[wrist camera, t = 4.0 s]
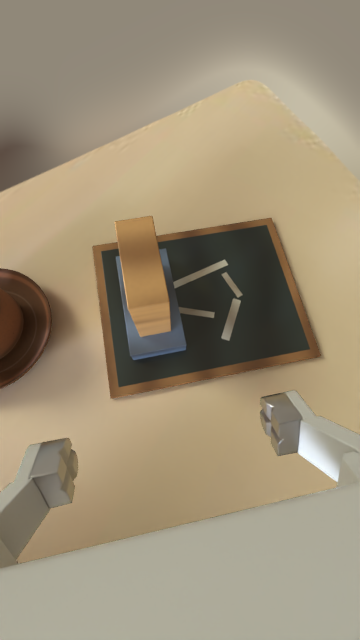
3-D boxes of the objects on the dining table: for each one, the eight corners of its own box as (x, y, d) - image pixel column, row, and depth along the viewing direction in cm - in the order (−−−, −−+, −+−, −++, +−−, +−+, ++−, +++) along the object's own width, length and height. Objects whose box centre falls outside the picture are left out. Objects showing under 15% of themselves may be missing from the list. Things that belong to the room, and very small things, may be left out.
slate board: (111, 398, 26) (110, 398, 26) (93, 248, 31) (92, 245, 31) (318, 356, 28) (321, 355, 27) (270, 220, 33) (271, 217, 32)
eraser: (186, 350, 27) (190, 319, 19) (133, 360, 27) (114, 333, 18) (166, 258, 30) (163, 196, 22) (119, 266, 30) (97, 206, 22)
